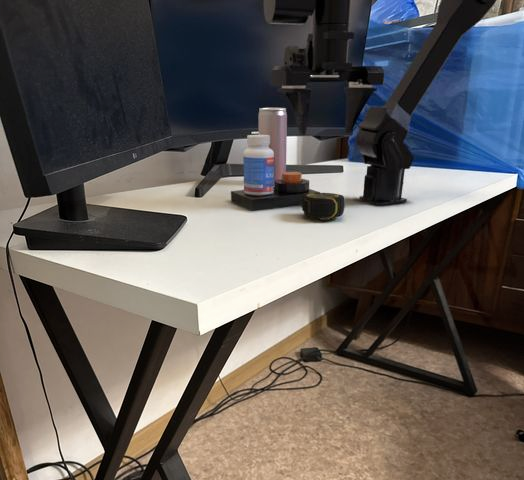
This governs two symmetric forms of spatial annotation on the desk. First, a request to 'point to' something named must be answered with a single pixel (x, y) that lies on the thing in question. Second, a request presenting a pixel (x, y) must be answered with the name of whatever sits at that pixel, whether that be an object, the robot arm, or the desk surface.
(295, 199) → the scale
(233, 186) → the desk surface
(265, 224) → the desk surface
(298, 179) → the button
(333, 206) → the tape measure
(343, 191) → the desk surface
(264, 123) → the beverage can
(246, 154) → the pill bottle
